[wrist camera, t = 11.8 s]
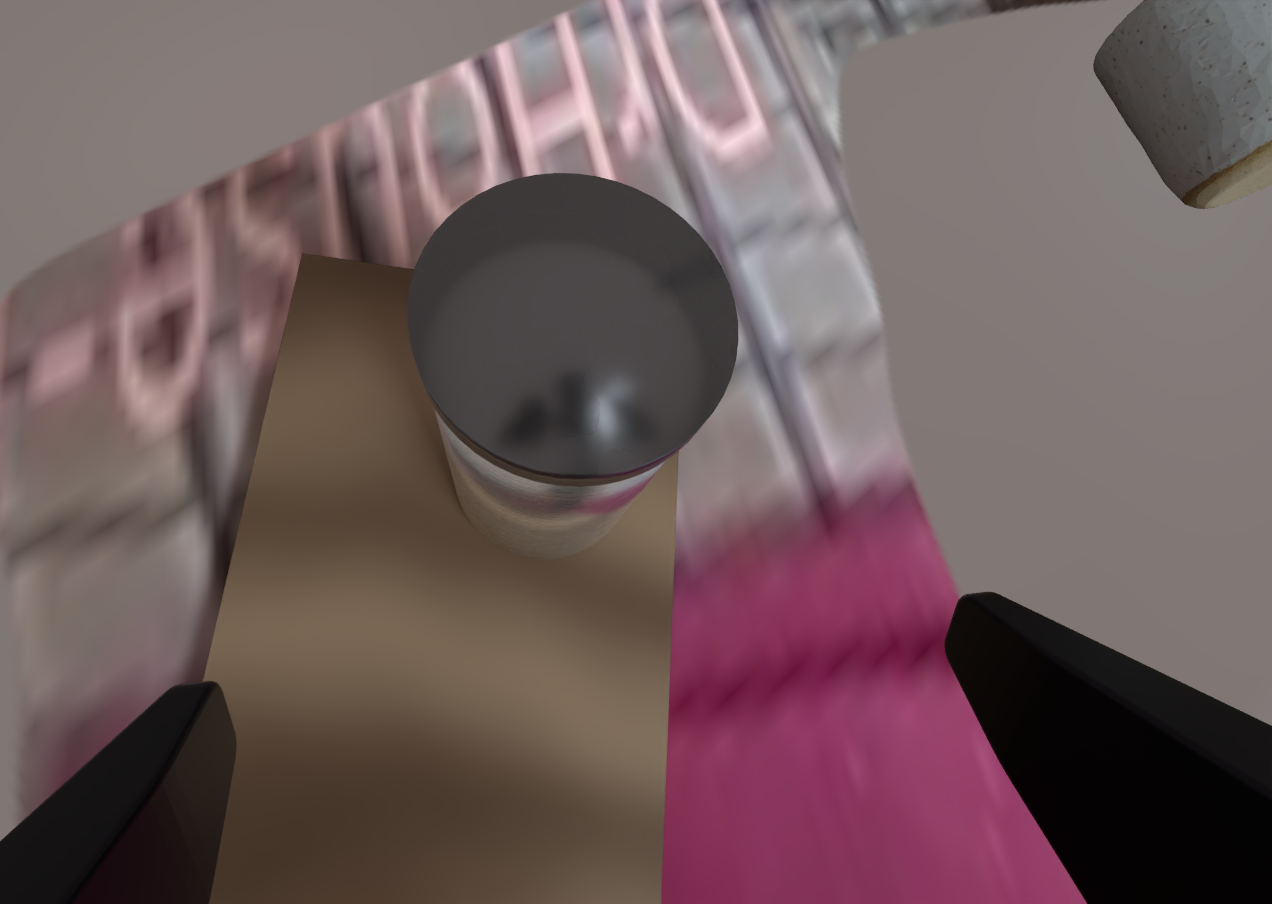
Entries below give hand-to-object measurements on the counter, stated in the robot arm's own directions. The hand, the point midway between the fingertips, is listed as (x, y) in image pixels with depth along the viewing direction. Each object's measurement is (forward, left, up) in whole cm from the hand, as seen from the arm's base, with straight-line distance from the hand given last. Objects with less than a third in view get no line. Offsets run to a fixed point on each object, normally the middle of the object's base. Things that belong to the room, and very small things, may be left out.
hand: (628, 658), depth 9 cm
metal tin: (+6, +1, -12) cm, 13 cm away
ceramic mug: (+25, -26, -13) cm, 38 cm away
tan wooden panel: (+3, +3, -13) cm, 13 cm away
